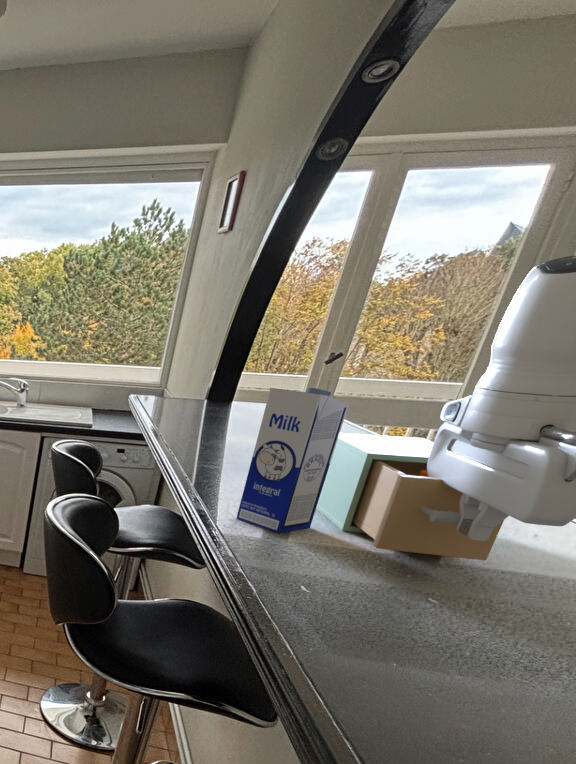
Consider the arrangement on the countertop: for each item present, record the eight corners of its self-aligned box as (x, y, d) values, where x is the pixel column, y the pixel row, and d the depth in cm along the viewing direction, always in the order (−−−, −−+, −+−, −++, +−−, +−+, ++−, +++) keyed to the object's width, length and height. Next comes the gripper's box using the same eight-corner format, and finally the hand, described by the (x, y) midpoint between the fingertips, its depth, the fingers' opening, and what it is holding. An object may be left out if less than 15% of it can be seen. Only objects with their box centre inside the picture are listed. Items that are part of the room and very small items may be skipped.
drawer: (507, 574, 70) (543, 495, 67) (391, 560, 74) (419, 485, 70) (426, 523, 87) (452, 458, 83) (334, 514, 90) (355, 451, 87)
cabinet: (449, 542, 82) (483, 461, 78) (341, 530, 86) (367, 453, 82) (397, 508, 96) (423, 438, 91) (306, 500, 100) (326, 432, 95)
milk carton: (234, 518, 91) (269, 385, 84) (265, 513, 93) (301, 384, 86) (279, 533, 85) (321, 392, 77) (311, 528, 87) (354, 390, 80)
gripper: (641, 439, 54) (571, 575, 59) (500, 405, 72) (456, 512, 77) (551, 434, 56) (491, 567, 61) (435, 403, 74) (397, 507, 79)
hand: (471, 536), depth 69 cm, fingers closed
